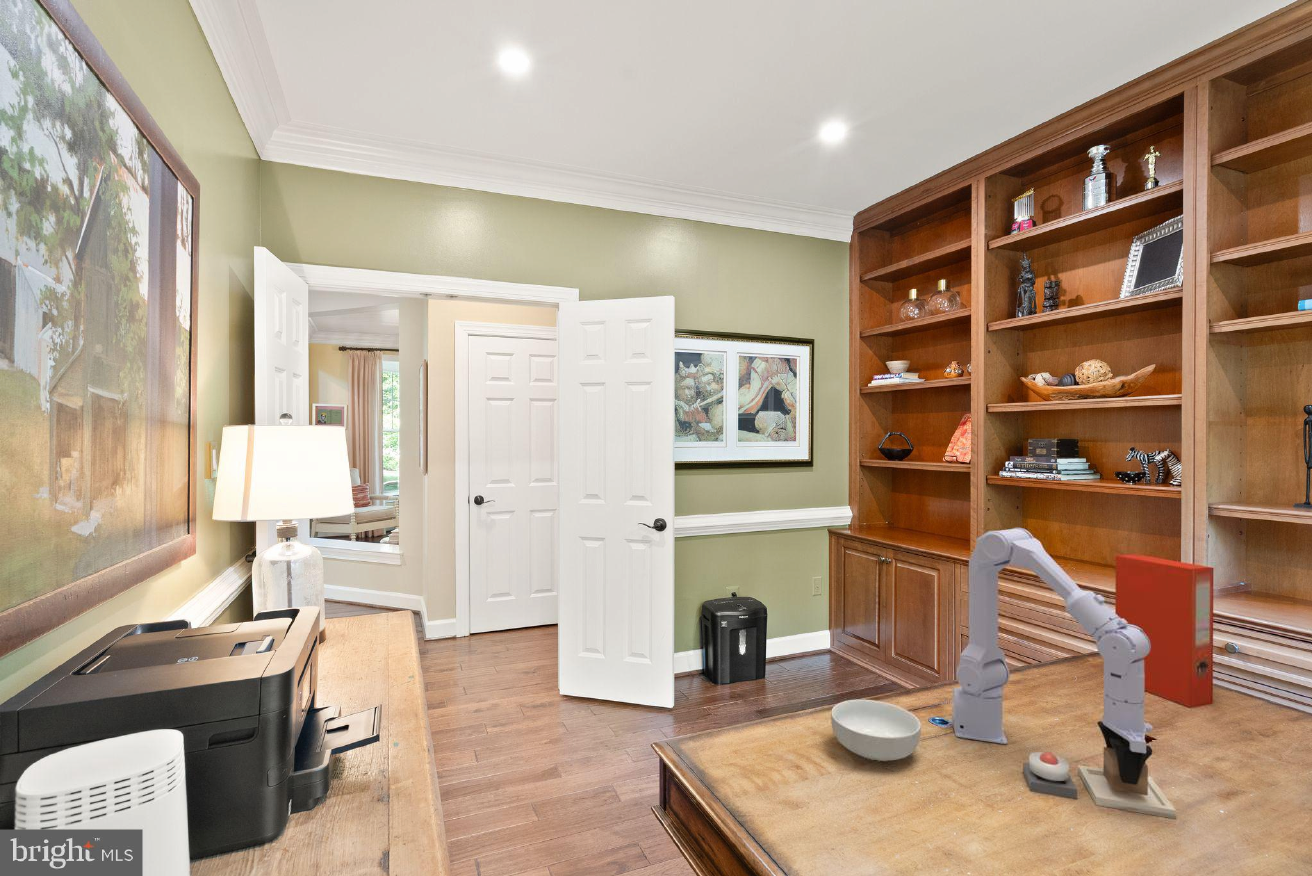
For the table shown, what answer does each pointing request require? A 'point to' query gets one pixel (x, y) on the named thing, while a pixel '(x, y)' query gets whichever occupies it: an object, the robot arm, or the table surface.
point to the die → (1115, 780)
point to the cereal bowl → (875, 729)
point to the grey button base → (1049, 784)
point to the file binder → (1170, 624)
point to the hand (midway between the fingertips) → (1123, 774)
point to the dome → (1049, 766)
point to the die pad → (1125, 795)
